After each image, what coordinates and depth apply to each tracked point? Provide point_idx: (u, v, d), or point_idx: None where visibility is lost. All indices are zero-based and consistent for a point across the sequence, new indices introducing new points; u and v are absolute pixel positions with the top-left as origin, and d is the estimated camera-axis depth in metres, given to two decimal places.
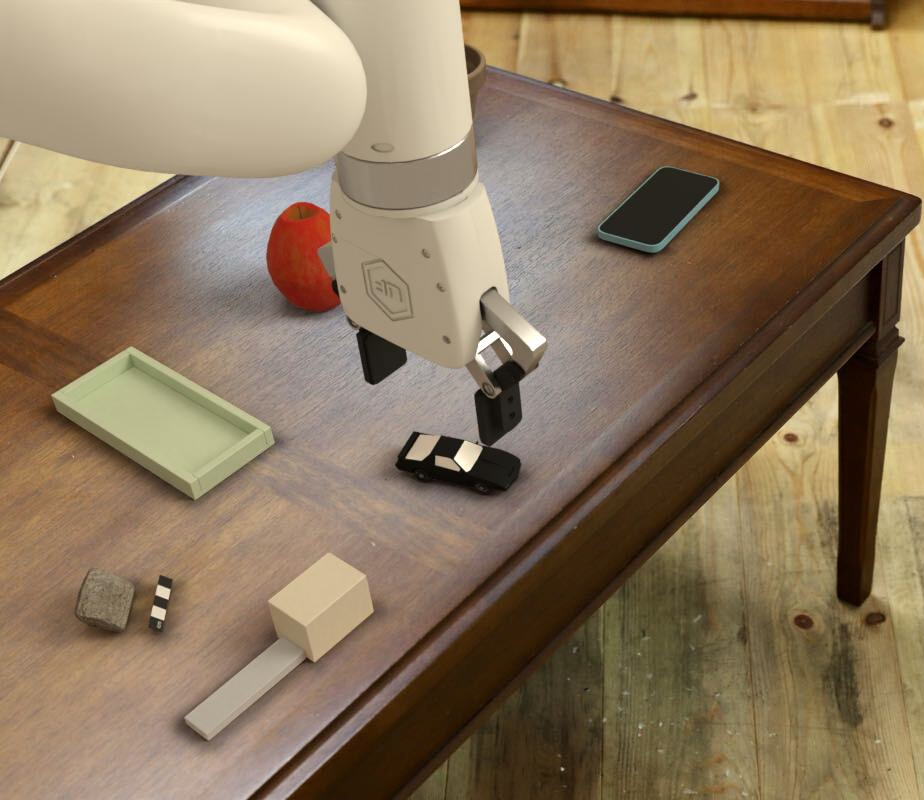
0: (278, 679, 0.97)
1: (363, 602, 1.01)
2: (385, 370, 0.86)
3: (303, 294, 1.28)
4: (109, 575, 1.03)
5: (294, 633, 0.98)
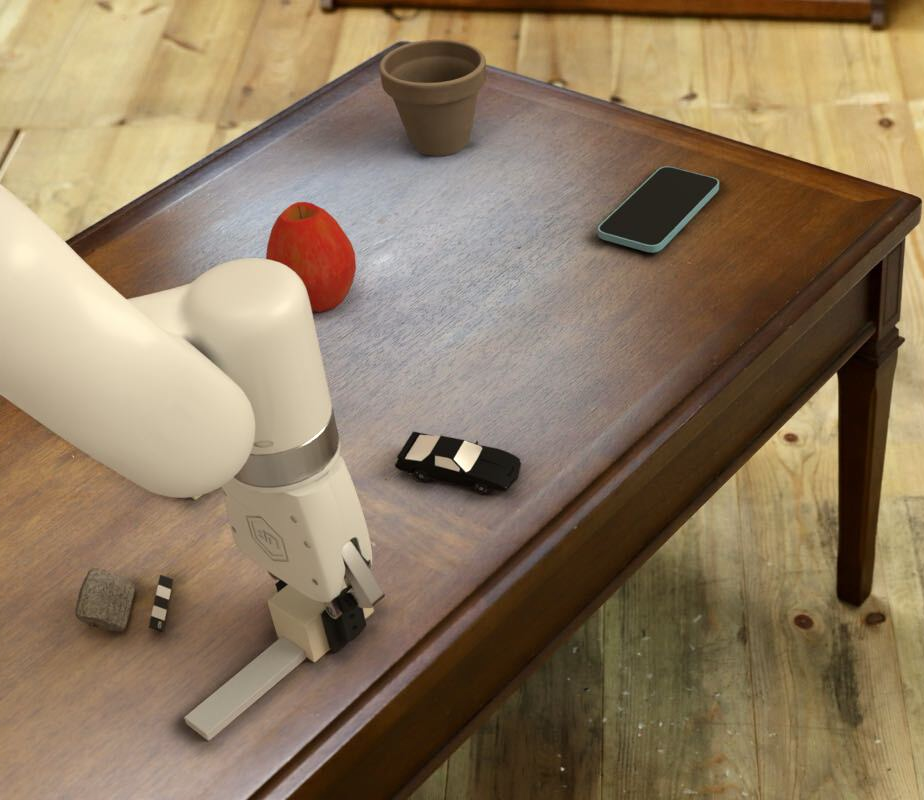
0: (278, 679, 0.97)
1: None
2: None
3: None
4: (110, 575, 1.03)
5: (294, 633, 0.98)
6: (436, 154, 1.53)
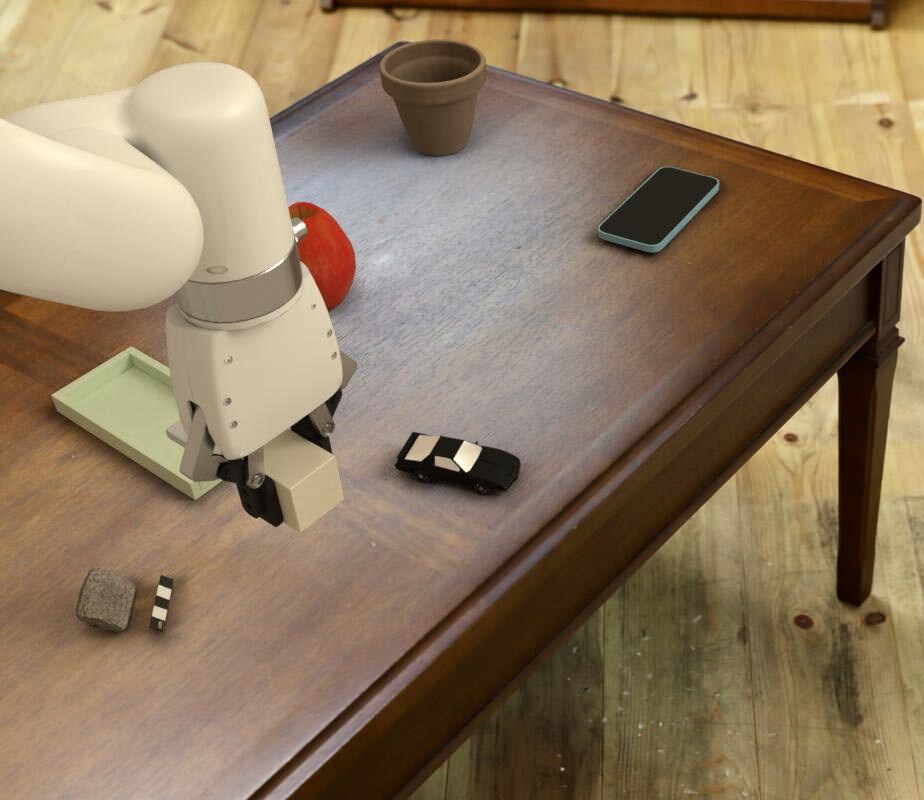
0: None
1: (287, 509, 0.90)
2: None
3: None
4: (110, 575, 1.03)
5: None
6: (436, 154, 1.53)
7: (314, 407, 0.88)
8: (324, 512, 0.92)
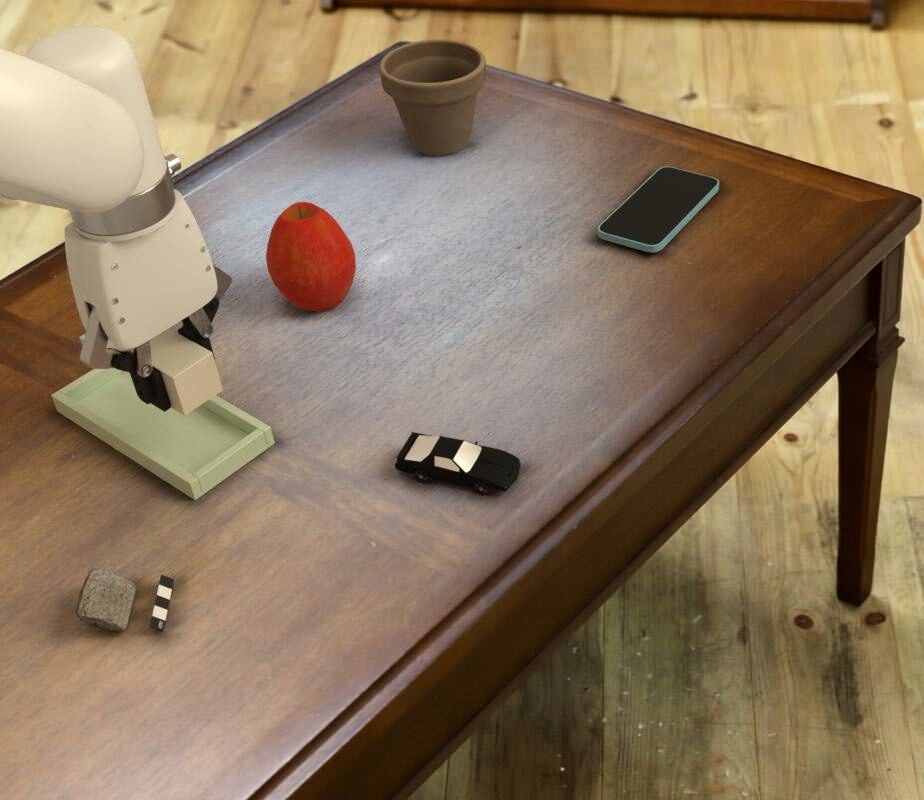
0: None
1: (173, 396, 1.10)
2: None
3: (303, 294, 1.28)
4: (110, 575, 1.03)
5: None
6: (436, 154, 1.53)
7: (192, 311, 1.08)
8: (205, 400, 1.12)
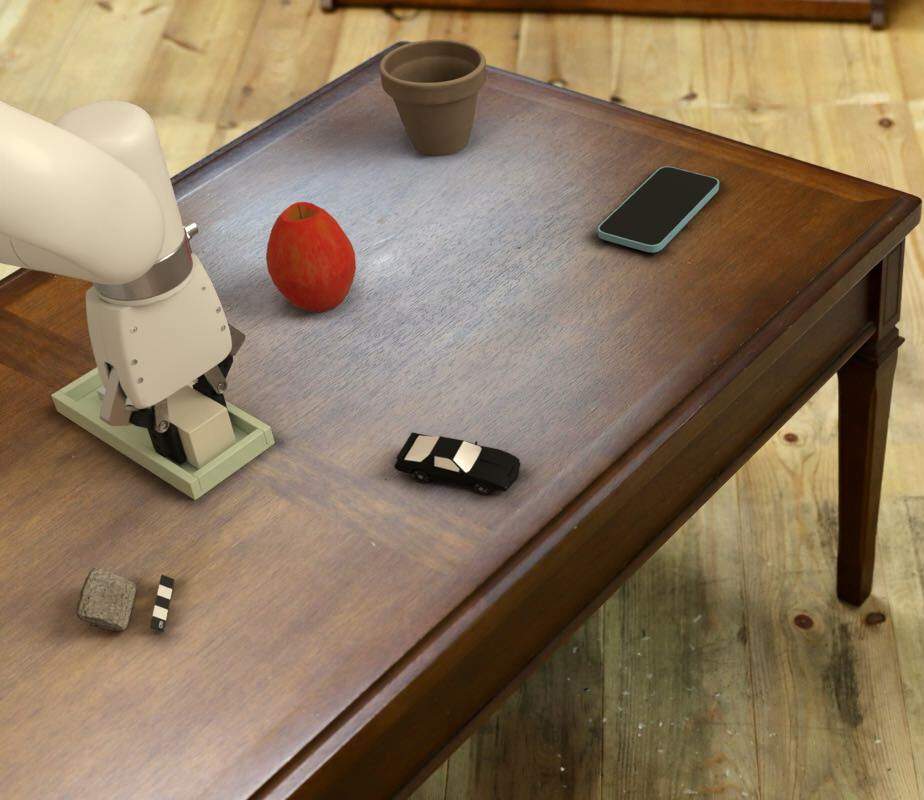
0: None
1: (188, 450, 1.13)
2: None
3: (303, 294, 1.28)
4: (111, 575, 1.03)
5: None
6: (436, 154, 1.53)
7: (208, 369, 1.12)
8: (219, 453, 1.15)
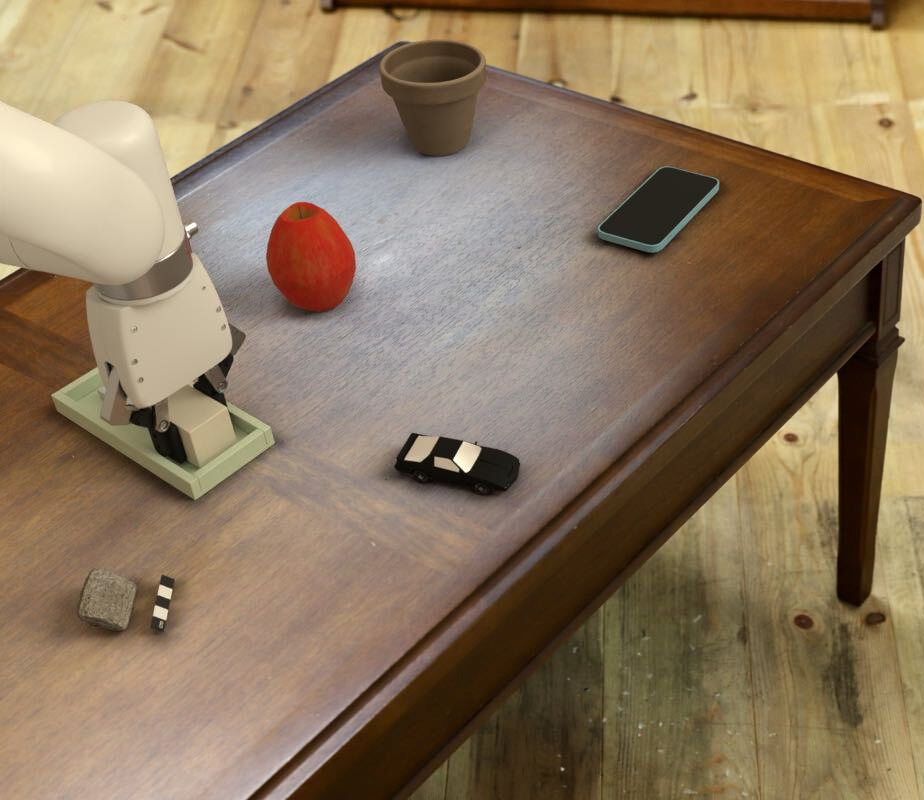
0: None
1: (189, 449, 1.13)
2: None
3: (303, 294, 1.28)
4: (111, 575, 1.03)
5: None
6: (436, 154, 1.53)
7: (208, 368, 1.12)
8: (220, 452, 1.15)
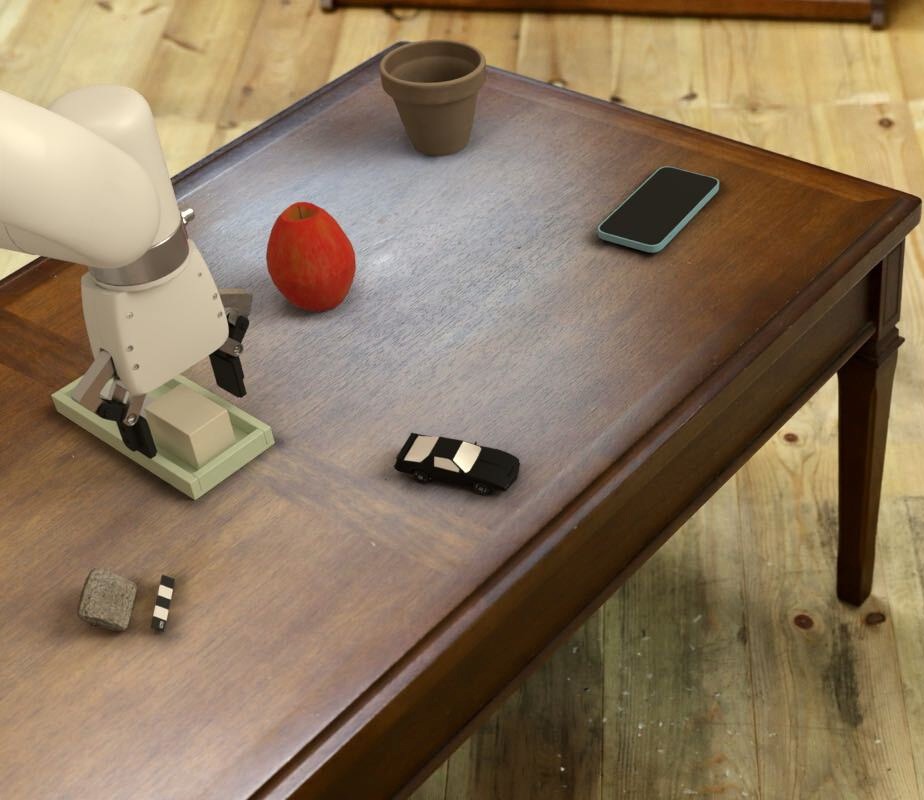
0: None
1: (189, 452, 1.13)
2: (223, 385, 1.17)
3: (303, 294, 1.28)
4: (111, 575, 1.03)
5: None
6: (436, 154, 1.53)
7: (204, 356, 1.11)
8: None
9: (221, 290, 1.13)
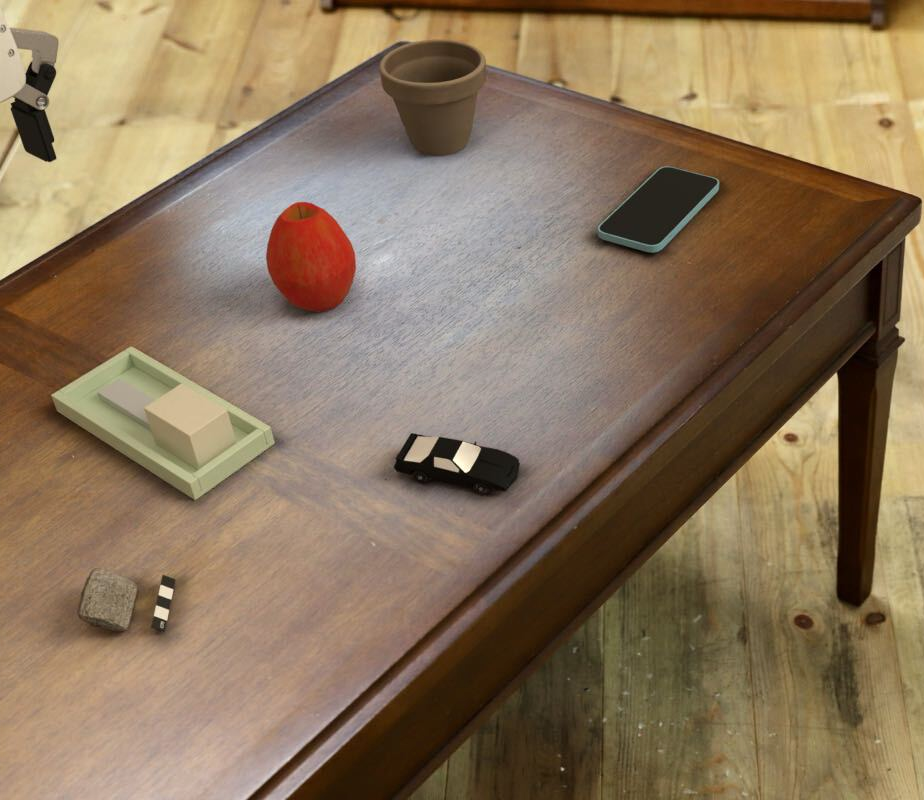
0: (142, 424, 1.19)
1: (189, 452, 1.13)
2: (31, 148, 1.03)
3: (303, 294, 1.28)
4: (112, 575, 1.03)
5: None
6: (436, 154, 1.53)
7: None
8: None
9: (17, 29, 0.98)
